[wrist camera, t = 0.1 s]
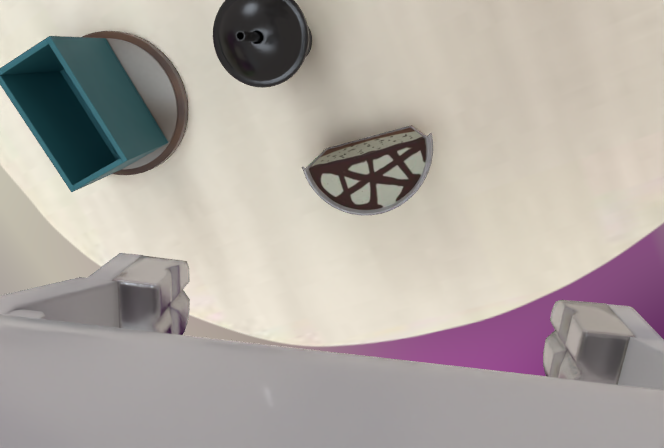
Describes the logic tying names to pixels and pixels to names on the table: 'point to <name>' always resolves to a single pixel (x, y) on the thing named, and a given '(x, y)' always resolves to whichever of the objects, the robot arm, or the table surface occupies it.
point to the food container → (372, 171)
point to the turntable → (152, 92)
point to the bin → (81, 107)
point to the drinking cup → (261, 40)
